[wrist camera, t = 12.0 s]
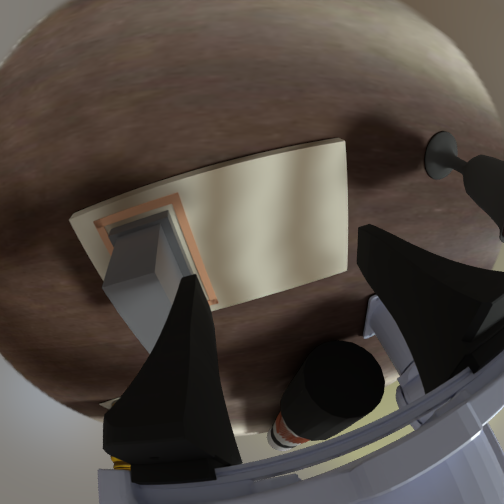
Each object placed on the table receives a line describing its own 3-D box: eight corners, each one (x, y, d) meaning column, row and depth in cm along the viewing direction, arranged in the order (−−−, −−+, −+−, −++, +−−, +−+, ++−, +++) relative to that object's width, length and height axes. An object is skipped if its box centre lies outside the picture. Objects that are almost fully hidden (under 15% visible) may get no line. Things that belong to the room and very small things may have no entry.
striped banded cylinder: (259, 416, 54) (245, 456, 46) (311, 331, 32) (294, 407, 25) (303, 427, 53) (293, 468, 45) (385, 350, 31) (382, 424, 23)
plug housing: (160, 223, 18) (154, 272, 14) (195, 304, 22) (201, 355, 18) (117, 237, 17) (101, 287, 13) (159, 313, 22) (158, 364, 18)
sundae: (420, 196, 23) (533, 299, 11) (414, 131, 19) (565, 222, 7) (461, 176, 23) (566, 258, 11) (459, 116, 19) (588, 187, 7)
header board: (338, 137, 19) (377, 158, 15) (342, 264, 26) (367, 300, 22) (73, 213, 18) (48, 252, 14) (137, 321, 25) (134, 365, 21)
